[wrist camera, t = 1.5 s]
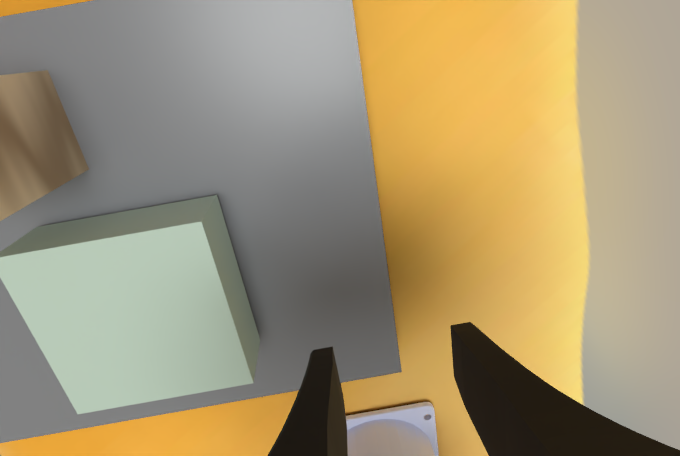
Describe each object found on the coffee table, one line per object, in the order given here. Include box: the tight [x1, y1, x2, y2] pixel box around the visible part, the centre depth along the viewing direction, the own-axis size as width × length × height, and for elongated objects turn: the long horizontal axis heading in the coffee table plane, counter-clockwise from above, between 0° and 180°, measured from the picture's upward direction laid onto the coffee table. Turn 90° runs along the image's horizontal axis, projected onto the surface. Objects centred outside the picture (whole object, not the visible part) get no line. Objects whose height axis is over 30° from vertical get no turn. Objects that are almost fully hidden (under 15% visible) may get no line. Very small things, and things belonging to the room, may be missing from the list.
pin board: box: [0, 0, 401, 443], centre depth 21 cm, size 20×24×2 cm
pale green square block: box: [0, 195, 260, 414], centre depth 19 cm, size 8×8×3 cm
